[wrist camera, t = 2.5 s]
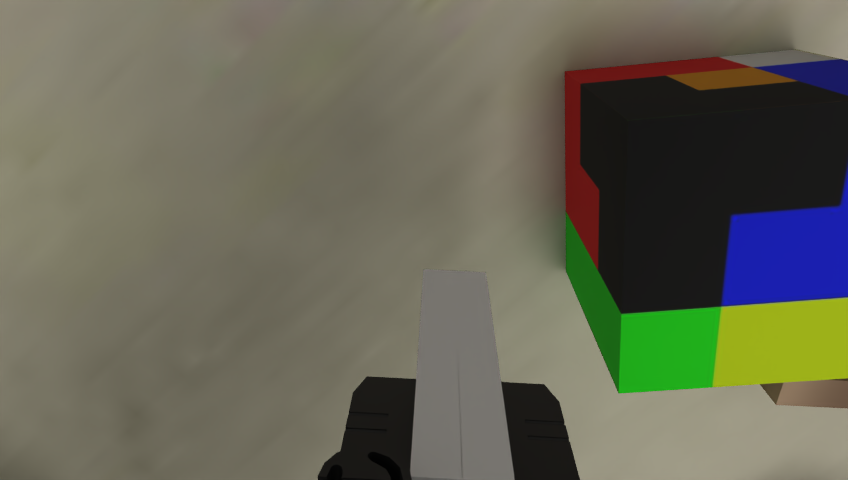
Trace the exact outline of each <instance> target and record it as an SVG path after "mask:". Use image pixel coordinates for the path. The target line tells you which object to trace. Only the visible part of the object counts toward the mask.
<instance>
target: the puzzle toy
mask: <svg viewBox="0 0 848 480" xmlns="http://www.w3.org/2000/svg"><path fill="white" fill-rule="evenodd" d="M565 174H566V272H567V275H568V277H569V279H570V282H571V284H572V286H573V289H574V291H575V293H576V295H577V298H578V300H579V302H580V305H581V307H582V309H583V312H584V314H585V316H586V319H587V321H588V323H589V326H590V328H591V330H592V333H593V335H594V337H595V340H596V342H597V344H598V347H599V349H600V351H601V354H602V356H603V358H604V360H605V363H606V365H607V367H608V370H609V372H610V374H611V377H612V379H613V381H614V384H615V386H616V388H617V391H618V393H632V392H647V391H662V390H678V389H693V388H708V387H723V386H738V385H754V384H769V383H784V382H799V381H815V380H830V379H845V378H848V61H847V60H843V59H838V58H833V57H828V56H824V55H819V54H814V53H810V52H805V51H800V50H796V49H795V50H784V51H774V52H763V53H753V54H743V55H732V56H722V57H711V58H701V59H690V60H680V61H670V62H659V63H649V64H638V65H628V66H617V67H607V68H597V69H586V70H576V71H565Z"/></svg>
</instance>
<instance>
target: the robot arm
mask: <svg viewBox="0 0 848 480" xmlns="http://www.w3.org/2000/svg"><path fill="white" fill-rule="evenodd" d="M318 480H580V478H579V475H578V471H577V467H576V463H575V460H574V456H573V452H572V448H571V445H570V442H569V437H568V433H567V430H566V426H565V425H564V418H563V415H562V411H561V407H560V403H559V401H558V400H557V399H556V398H555V396H554V395H553V394H552V393H551V392H550V391H549V389H548V388H547V387H546V386H545V385H544V384H527V383H509V382H501V378H500V370H499V363H498V356H497V349H496V342H495V334H494V327H493V320H492V313H491V305H490V298H489V291H488V284H487V277H486V272H470V271H451V270H432V269H424V270H423V285H422V300H421V315H420V330H419V345H418V360H417V375H416V379H404V378H385V377H366V378H365V379H364V381H363V382H362V383H361V384H360V385H359V386H358V387H357V389H356V390H355V391H354V392H353V395H352V400H351V405H350V409H349V415H348V419H347V424H346V430H345V433H344V438H343V442H342V447H341V451H340V452H338V453H336V454H335V455H334V456H332V457H331V458H330V459H329V460H328V461H326V462H325V463H324V465H323V467H322V469H321V471H320V473H319V475H318Z"/></svg>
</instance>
